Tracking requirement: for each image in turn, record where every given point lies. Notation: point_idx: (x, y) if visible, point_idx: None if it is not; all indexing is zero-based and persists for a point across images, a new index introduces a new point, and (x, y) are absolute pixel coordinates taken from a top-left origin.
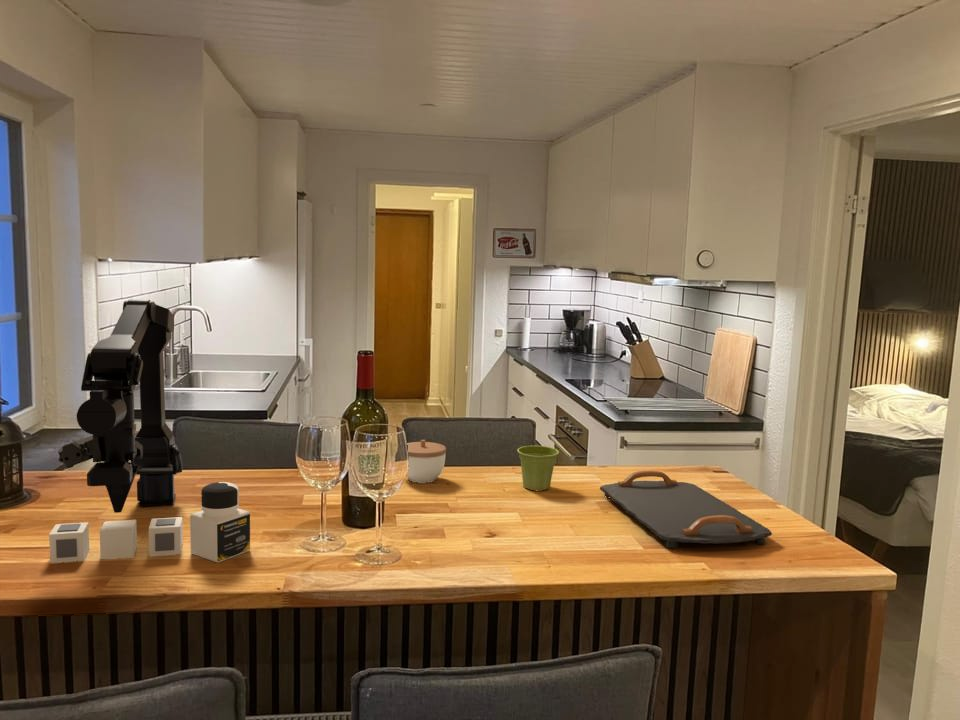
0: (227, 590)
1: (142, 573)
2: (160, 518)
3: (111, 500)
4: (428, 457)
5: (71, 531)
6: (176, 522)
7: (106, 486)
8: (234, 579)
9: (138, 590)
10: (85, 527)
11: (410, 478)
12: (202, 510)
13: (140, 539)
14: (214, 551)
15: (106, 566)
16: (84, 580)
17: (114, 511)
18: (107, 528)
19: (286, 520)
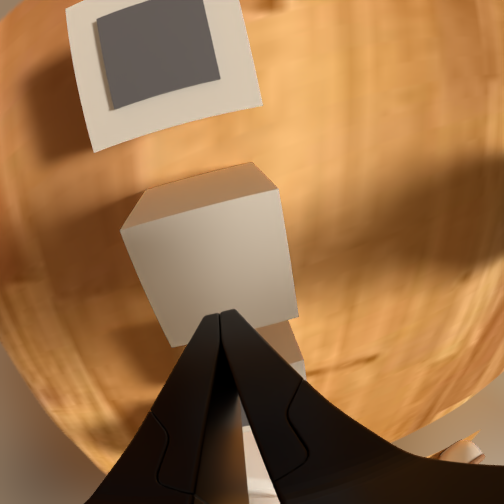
0: (79, 443)
1: (82, 337)
2: (304, 379)
3: (168, 382)
4: None
5: (103, 85)
6: None
7: (93, 499)
8: (117, 448)
9: (16, 349)
10: (169, 127)
11: (450, 449)
12: (259, 484)
13: (337, 243)
14: None
15: (97, 234)
16: (7, 221)
17: (201, 320)
18: (167, 247)
19: (381, 430)
